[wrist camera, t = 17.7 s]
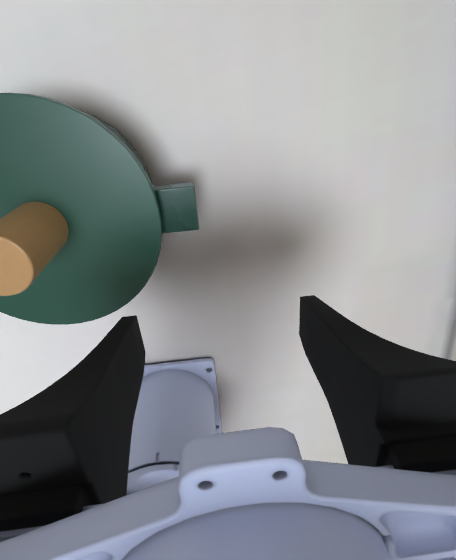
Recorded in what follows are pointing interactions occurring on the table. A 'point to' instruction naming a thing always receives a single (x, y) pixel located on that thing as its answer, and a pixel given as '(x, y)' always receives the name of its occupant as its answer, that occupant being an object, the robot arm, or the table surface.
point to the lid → (70, 214)
